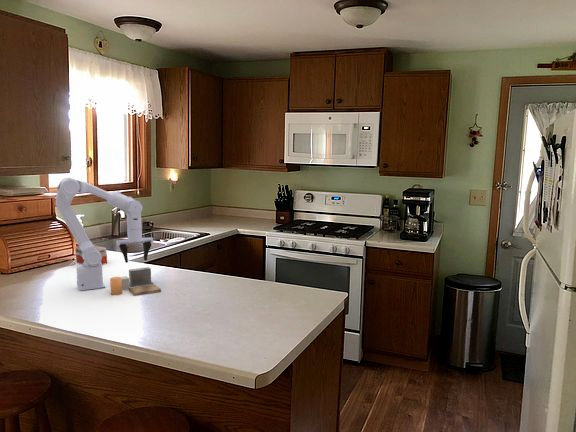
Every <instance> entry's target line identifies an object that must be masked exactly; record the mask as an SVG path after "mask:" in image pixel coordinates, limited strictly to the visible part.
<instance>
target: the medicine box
mask: <svg viewBox="0 0 576 432" xmlns="http://www.w3.org/2000/svg"><path fill="white" fill-rule="evenodd" d="M93 246H94V247H95V248H96V249H97V250H98V251H99V252H100V253H101V255H102V260H101V262H102V265H104V264H103V263H106V264H108V256H107V255H108V254H107V247H102V246H97V245H93ZM74 248H75V260H76V261H75V262H76V263H78V264H81V265H82V264H83V262H84V261H85V260H84V259H83V258H82V251H81V249H80V247H79V245H78V246H75V247H74Z"/></svg>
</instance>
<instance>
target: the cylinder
mask: <svg viewBox="0 0 576 432" xmlns="http://www.w3.org/2000/svg"><path fill="white" fill-rule="evenodd" d="M121 277H122V276H113V277H110V278H109V283H110V285H109V286H110V295H111V296H119V295H122V294H123V290H122V280H121Z"/></svg>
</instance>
